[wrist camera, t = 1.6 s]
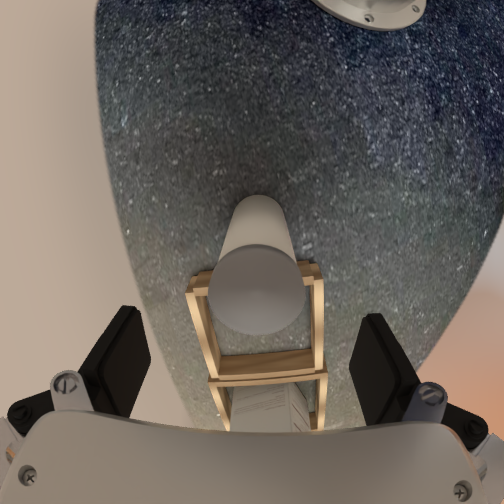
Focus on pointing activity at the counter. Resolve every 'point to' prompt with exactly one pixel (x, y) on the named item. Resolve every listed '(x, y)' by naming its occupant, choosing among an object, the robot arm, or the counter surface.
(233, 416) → the supplement box
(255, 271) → the frosted tube
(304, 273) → the oak rack
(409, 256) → the counter surface
